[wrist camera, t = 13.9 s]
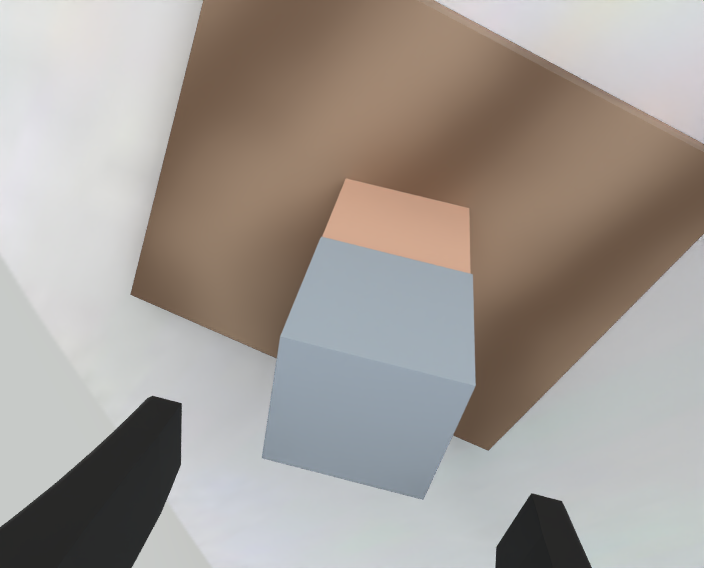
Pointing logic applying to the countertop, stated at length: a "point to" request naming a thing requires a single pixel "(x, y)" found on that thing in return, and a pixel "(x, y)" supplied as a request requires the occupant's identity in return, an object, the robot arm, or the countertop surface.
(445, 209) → the terracotta block
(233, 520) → the countertop surface
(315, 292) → the slate block
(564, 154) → the walnut board
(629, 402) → the countertop surface
